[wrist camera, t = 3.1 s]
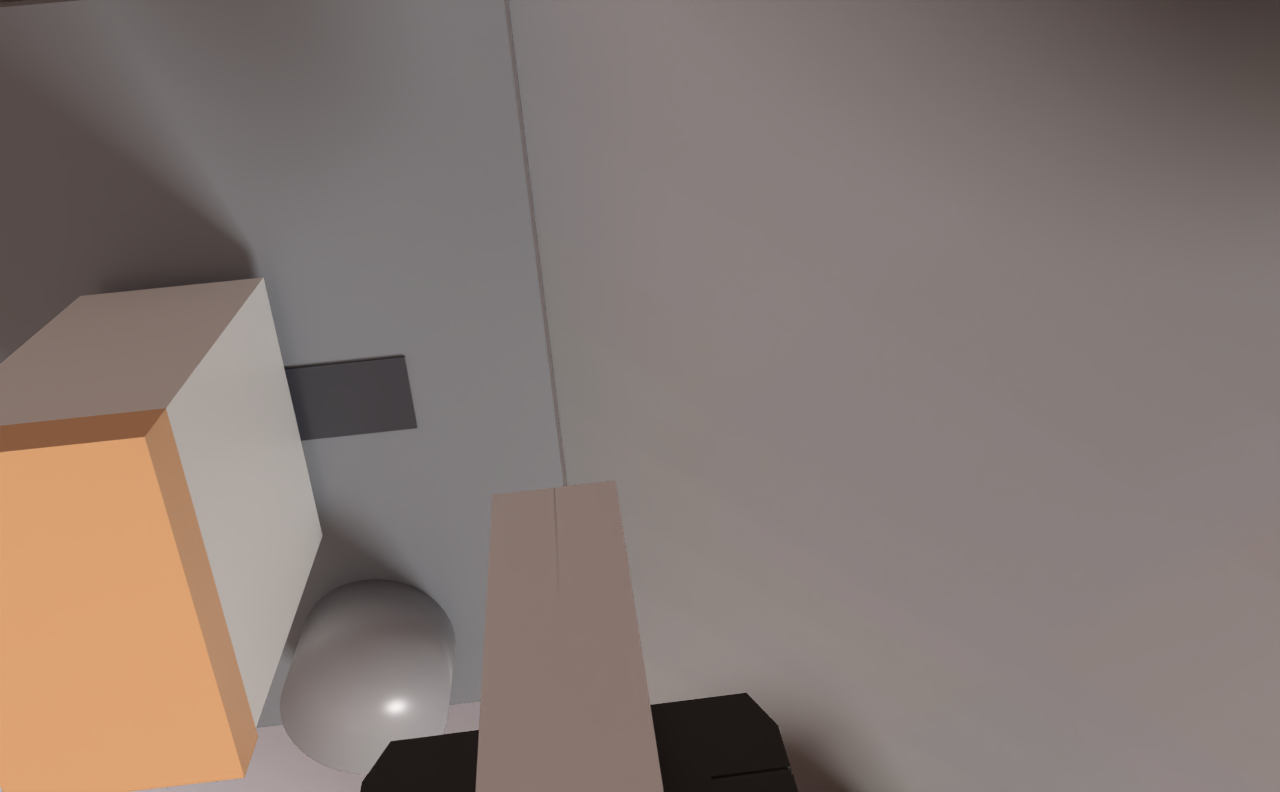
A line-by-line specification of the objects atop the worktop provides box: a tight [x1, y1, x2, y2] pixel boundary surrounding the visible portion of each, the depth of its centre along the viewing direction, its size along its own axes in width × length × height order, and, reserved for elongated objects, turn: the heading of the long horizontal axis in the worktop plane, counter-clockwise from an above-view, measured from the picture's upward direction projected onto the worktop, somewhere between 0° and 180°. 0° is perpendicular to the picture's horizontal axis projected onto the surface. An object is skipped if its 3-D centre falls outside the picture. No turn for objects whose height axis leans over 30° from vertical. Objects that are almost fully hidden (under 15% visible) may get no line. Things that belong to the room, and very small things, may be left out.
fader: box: [0, 277, 323, 792], centre depth 17 cm, size 3×5×6 cm, turn 5°
